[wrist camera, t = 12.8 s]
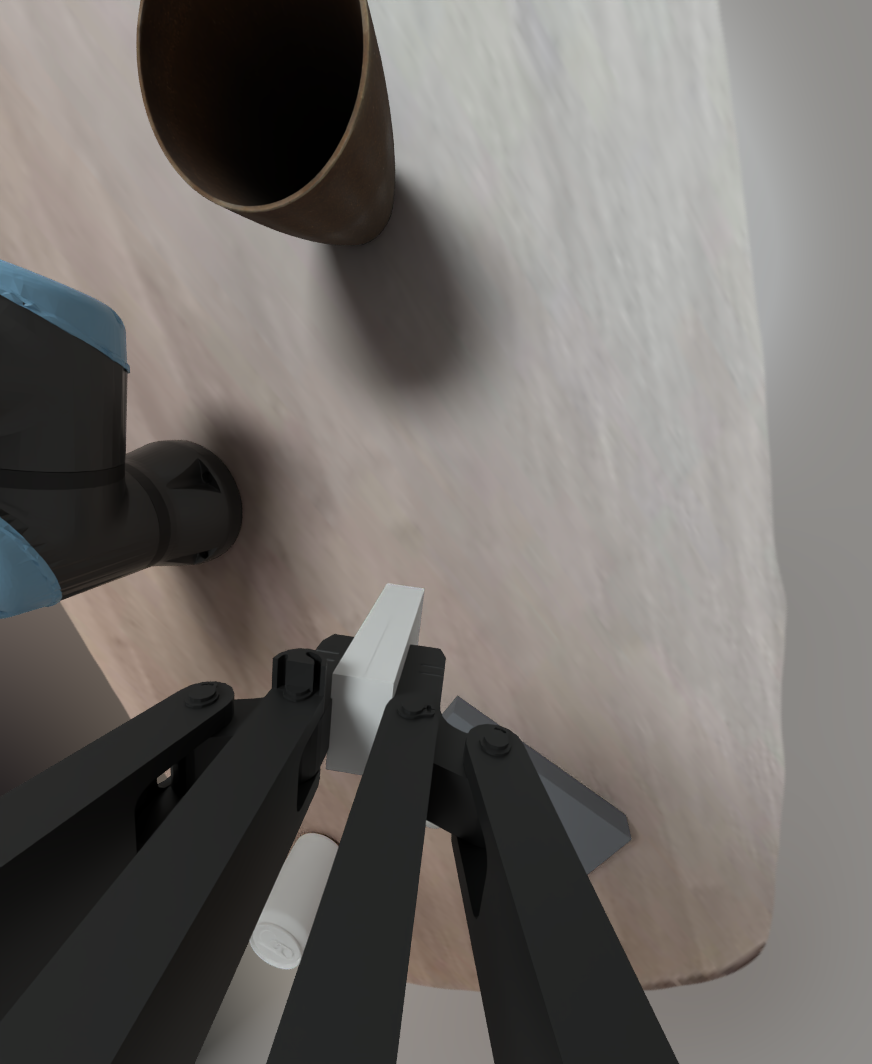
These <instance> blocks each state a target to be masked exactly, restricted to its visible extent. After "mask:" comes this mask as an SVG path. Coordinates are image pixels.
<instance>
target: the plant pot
mask: <svg viewBox="0 0 872 1064" xmlns="http://www.w3.org/2000/svg"><path fill="white" fill-rule="evenodd" d="M136 43H137V66H138V76H139V82H140V88H141V93H142V98H143V102H144V106H145V109H146V113H147V116H148V119H149V122H150V125H151V127H152V130H153V132H154V134H155V137H156V139H157V141H158V143H159V145H160V147H161V149H162V151H163V152H164V154H165V156H166V157H167V159H168V160H169V162H170V163H171V165H172V166H173V167H174V169H175V170H176V171H177V173H178V174H179V175H180V176H181V177H182V178H183V179H184V180H185V181H186V182H187V183H188V184H189V185H190V186H191V187H192V188H193V189H194V190H195V191H197V192H198V193H199V194H201V195H202V196H203V197H205V198H207V199H208V200H210V201H212V202H214V203H215V204H218V205H220V206H222V207H224V208H226V209H228V210H230V211H232V212H234V213H237V214H239V215H241V216H243V217H245V218H248V219H250V220H252V221H254V222H257V223H259V224H261V225H264V226H266V227H269V228H271V229H274V230H276V231H279V232H282V233H285V234H288V235H291V236H295V237H298V238H301V239H305V240H309V241H313V242H318V243H324V244H331V245H361V244H365V243H367V242H369V241H371V240H373V239H374V238H376V237H377V236H378V235H379V234H380V233H381V231H382V230H383V229H384V227H385V226H386V224H387V222H388V220H389V218H390V215H391V212H392V208H393V201H394V189H395V156H394V140H393V130H392V122H391V114H390V106H389V100H388V94H387V88H386V82H385V76H384V71H383V66H382V61H381V56H380V52H379V48H378V43H377V39H376V35H375V31H374V26H373V22H372V18H371V14H370V10H369V6H368V2H367V0H141V1H140V8H139V15H138V23H137V42H136Z"/></svg>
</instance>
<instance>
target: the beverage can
mask: <svg viewBox="0 0 872 1064" xmlns="http://www.w3.org/2000/svg"><path fill="white" fill-rule="evenodd" d="M338 847H339V846H338V845H337V844H336V843H335V842H334V841H333V840H331V839H330V838H328V837H326V836H324V835H321V834H317V833H307V834H304V835H302V836H301V837H299V838H298V840H297V841H296V843H295V845H294V846H293V848H292V850H291V852H290V853H289V855H288V857H287V859H286V861H285V862H284V864H283V866H282V868H281V871H280V873H279V875H278V877H277V880H276V882H275V884H274V886H273V889H272V891H271V893H270V895H269V898H268V900H267V902H266V904H265V907H264V909H263V911H262V913H261V915H260V918H259V920H258V922H257V924H256V927H255V929H254V931H253V933H252V936H251V938H250V940H249V942H250V945H251V947H252V949H253V950H254V952H255V953H256V954H257V955H258V956H259V957H260V958H261V959H262V960H263V961H265V962H266V963H268V964H270V965H272V966H274V967H277V968H280V969H293V968H295V967H297V966H298V965H299V964H300V961H301V958H302V955H303V952H304V949H305V946H306V943H307V940H308V937H309V934H310V931H311V928H312V925H313V922H314V919H315V916H316V913H317V910H318V907H319V904H320V901H321V898H322V895H323V892H324V889H325V886H326V883H327V880H328V877H329V874H330V871H331V868H332V865H333V862H334V859H335V856H336V853H337V850H338Z"/></svg>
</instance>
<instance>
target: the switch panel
mask: <svg viewBox="0 0 872 1064" xmlns="http://www.w3.org/2000/svg"><path fill="white" fill-rule="evenodd" d="M442 716H443V718H444V719H445V720H446V721H447V722H448V723H449V724H450V725H452V726H453V727H455V728H457V729H459V730H461V731H463V732H465V733H468V732H469V731H470V729H472V728H474V727H475V726H477V725H482V724H493V725H498V724H497V723H495V722H494V721H493V720H491V719H490V718H488V717H487V716H486V715H484V714H483V713H481V712H480V711H478V710H477V709H476V708H474V707H473V706H471V705H470V704H469V703H467V702H466V701H464V700H463V699H462V698H460V697H459V696H457V697H456V698H455V699H454V700H453V702H452V703H451V704H450V705H449V707H448V708H447V709H446V710H445V711H444V713H443V714H442ZM499 726H500V725H499ZM522 743H523V744H524V746H525V748H526V750H527V752H528V754H529V756H530V758H531V760H532V762H533V765H534V767H535V769H536V771H537V773H538V775H539V777H540V779H541V781H542V783H543V785H544V787H545V789H546V791H547V793H548V795H549V797H550V800H551V802H552V804H553V806H554V808H555V810H556V812H557V814H558V816H559V818H560V820H561V822H562V824H563V826H564V828H565V830H566V832H567V834H568V837H569V839H570V841H571V843H572V845H573V847H574V849H575V851H576V853H577V855H578V857H579V859H580V861H581V863H582V865H583V867H584V869H585V871H586V874H589V873H590V872H591V871H592V870H594V869H595V868H596V867H597V866H599V865H600V864H601V863H602V862H604V861H605V860H606V859H608V858H609V857H610V856H611V855H613V854H614V853H615V852H616V851H618V850H619V849H620V848H621V847H623V846H624V845H625V844H626V843H628V842H629V841H630V840H631V834H630V830H629V826H628V822H627V818H626V815H625V814H624V813H622V812H621V811H619V810H618V809H617V808H615V807H614V806H612V805H611V804H610V803H608V802H607V801H605V800H604V799H603V798H601V797H600V796H598V795H597V794H596V793H594V792H593V791H591V790H590V789H588V788H587V787H586V786H584V785H583V784H581V783H580V782H579V781H577V780H576V779H574V778H573V777H572V776H570V775H569V774H567V773H566V772H565V771H563V770H562V769H560V768H559V767H557V766H556V765H555V764H553V763H552V762H550V761H549V760H548V759H546V758H545V757H543V756H542V755H541V754H539V753H538V752H536V751H535V750H533V749H532V748H531V747H529V746H528V745H526V744H525V743H524V742H522Z"/></svg>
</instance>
